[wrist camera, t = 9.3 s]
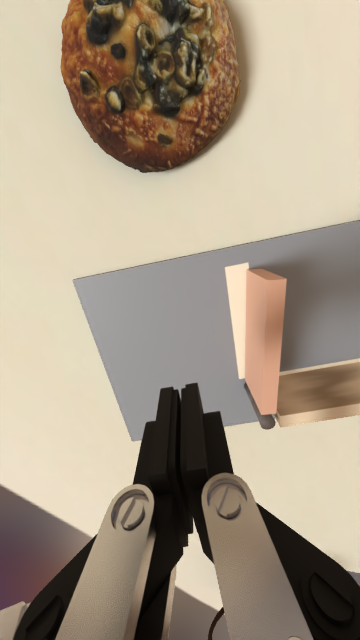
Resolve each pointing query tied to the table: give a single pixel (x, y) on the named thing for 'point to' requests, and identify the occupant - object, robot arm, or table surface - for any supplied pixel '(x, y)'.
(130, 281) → the card
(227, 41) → the bread roll
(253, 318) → the folding fence panel
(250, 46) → the table surface
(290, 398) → the fixed fence section
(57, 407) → the table surface
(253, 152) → the table surface
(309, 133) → the table surface
